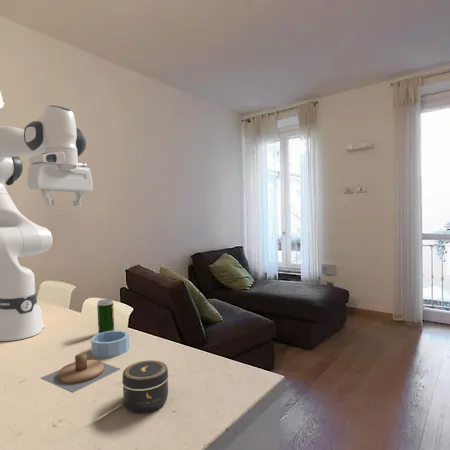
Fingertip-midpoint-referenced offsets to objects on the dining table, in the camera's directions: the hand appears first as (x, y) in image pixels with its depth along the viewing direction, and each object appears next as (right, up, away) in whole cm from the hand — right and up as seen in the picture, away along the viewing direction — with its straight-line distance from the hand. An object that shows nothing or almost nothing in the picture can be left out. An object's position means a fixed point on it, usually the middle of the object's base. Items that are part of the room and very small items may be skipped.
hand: (64, 206), depth 103 cm
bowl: (+14, -45, +1) cm, 47 cm away
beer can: (+7, -45, +18) cm, 49 cm away
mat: (+11, -46, -14) cm, 49 cm away
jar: (+31, -46, -27) cm, 62 cm away
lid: (+11, -45, -14) cm, 48 cm away
